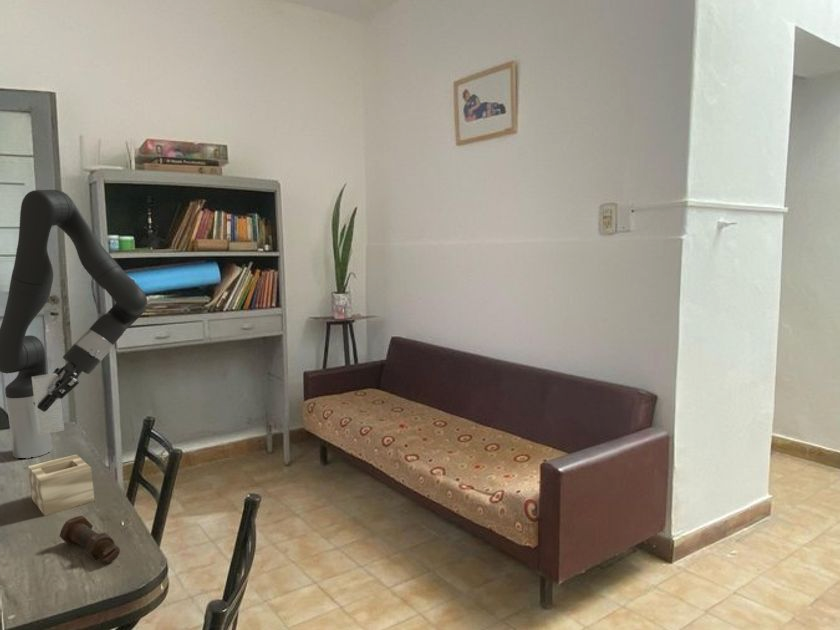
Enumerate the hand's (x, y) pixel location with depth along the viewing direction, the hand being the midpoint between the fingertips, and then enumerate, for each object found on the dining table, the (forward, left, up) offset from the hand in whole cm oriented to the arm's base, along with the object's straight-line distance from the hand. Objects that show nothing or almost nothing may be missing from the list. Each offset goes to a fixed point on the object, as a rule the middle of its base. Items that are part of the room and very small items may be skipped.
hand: (39, 407), depth 146 cm
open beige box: (+15, 0, -19) cm, 24 cm away
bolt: (+45, -2, -20) cm, 49 cm away
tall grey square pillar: (0, +2, -6) cm, 7 cm away
